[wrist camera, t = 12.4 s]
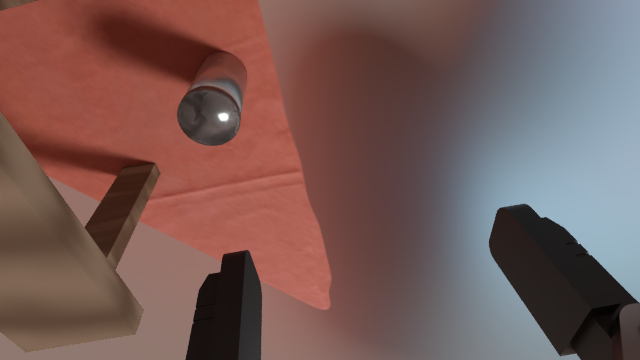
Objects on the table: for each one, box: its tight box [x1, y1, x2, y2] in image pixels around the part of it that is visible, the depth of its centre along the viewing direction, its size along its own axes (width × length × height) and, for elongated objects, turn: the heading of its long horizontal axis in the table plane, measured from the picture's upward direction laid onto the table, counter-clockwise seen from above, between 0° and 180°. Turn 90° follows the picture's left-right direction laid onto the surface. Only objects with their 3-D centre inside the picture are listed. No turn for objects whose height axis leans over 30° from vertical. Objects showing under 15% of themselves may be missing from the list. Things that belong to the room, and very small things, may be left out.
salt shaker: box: [177, 52, 247, 146], centre depth 32 cm, size 5×5×11 cm
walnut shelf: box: [0, 0, 160, 352], centre depth 27 cm, size 22×8×22 cm, turn 6°
